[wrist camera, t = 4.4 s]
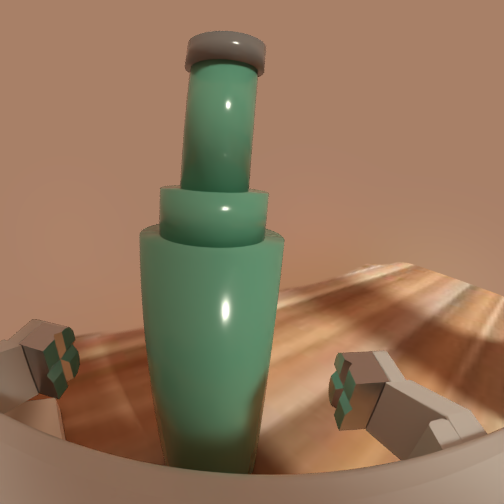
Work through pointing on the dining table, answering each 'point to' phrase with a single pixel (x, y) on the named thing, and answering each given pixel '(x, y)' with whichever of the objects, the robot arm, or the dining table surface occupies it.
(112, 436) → the dining table surface
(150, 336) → the bottle
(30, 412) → the bottle stand
